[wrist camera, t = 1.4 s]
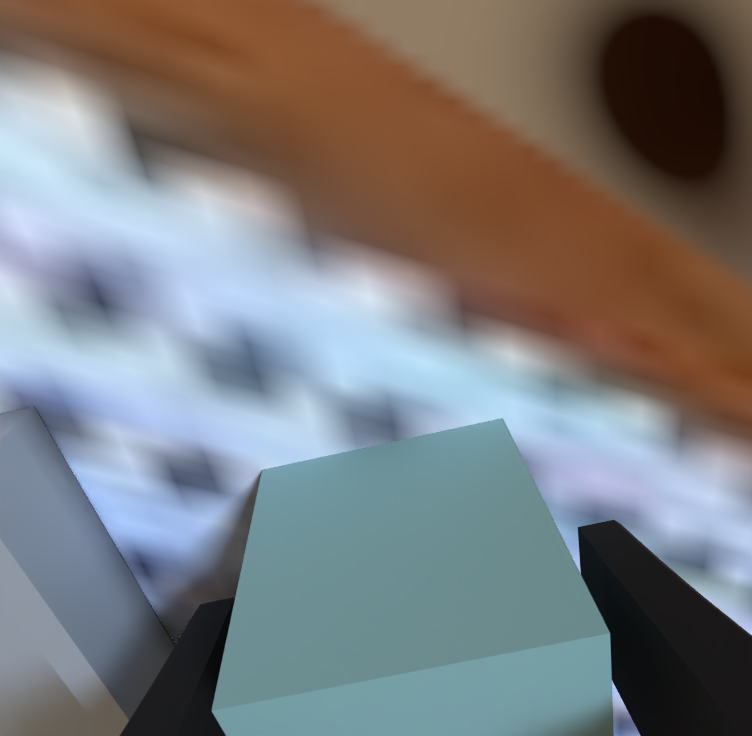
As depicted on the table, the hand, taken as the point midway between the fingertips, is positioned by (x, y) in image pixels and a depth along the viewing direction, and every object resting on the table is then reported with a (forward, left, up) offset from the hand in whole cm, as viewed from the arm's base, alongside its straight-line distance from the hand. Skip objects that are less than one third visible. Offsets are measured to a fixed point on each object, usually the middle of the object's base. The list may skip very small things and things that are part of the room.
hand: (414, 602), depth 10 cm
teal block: (0, 0, -2) cm, 2 cm away
